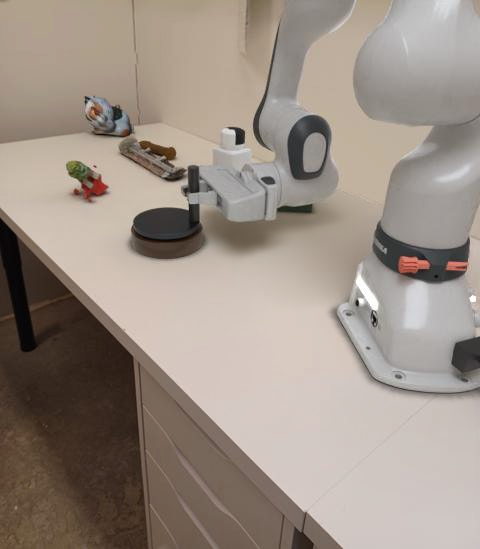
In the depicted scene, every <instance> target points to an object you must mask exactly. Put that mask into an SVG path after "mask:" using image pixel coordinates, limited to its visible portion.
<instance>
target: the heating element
mask: <svg viewBox="0 0 480 549" xmlns="http://www.w3.org/2000/svg"><path fill="white" fill-rule="evenodd" d="M139 142H140V141H139V140H138V139H137V137H136V136H135V135H134V132H132V133H131V134H130V135H128V136H126V137H124V139H122V141H120V142H118V143H117V147H118V150H119V152H120V153H121V154H122V155H124V156H125V157H127V158H130V159H132V160H133V161H135V162H137V163H138V164H140V165H141V166H143V167H145V169H147V170H150V171H151V172H152V173H153V174H155V175H156V176H158V177H161V178H164V179H166V178H167V179H171V180H175V179H177V178H179V177H181V176H182V175H183V174H184V173H187V172H188V169H185V167H184V166H175V165H174V164H173V163H171V162H170V161H169V159H167V158H166V157H165V156H163V155H161V157H159V156H158V157H157V156H156V155H154V153H153V152H151V150H150V148H147V149H145V150H144V149H142V148H141V146H140V144H139Z"/></svg>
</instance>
